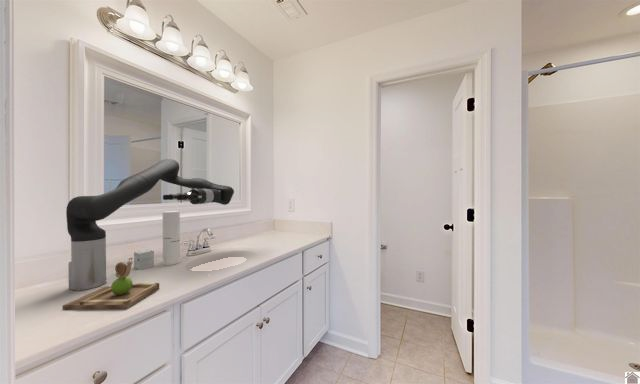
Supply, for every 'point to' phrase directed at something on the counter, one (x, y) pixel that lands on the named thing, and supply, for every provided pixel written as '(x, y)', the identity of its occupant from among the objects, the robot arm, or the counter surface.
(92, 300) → the display base
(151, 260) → the skincare box
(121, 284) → the snail figurine
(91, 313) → the counter surface
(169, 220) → the cylindrical container
